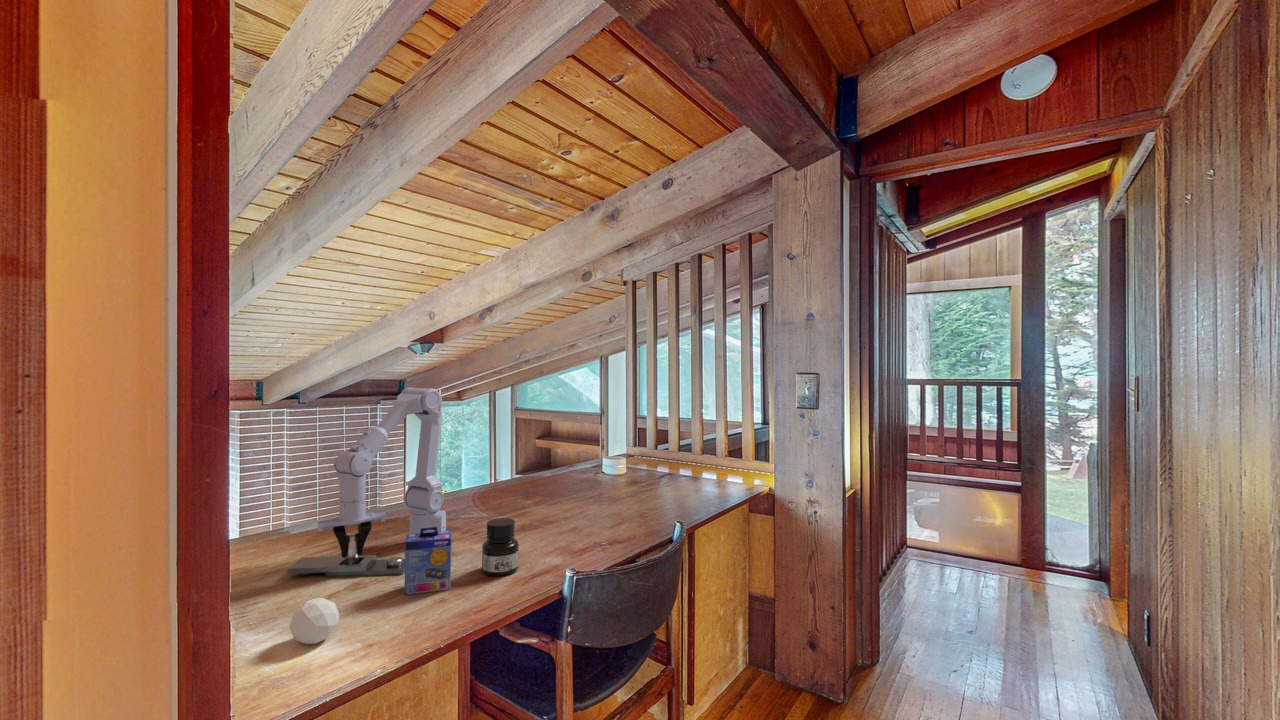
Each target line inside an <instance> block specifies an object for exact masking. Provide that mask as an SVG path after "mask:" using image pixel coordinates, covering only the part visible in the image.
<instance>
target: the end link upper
mask: <svg viewBox="0 0 1280 720" xmlns="http://www.w3.org/2000/svg"><path fill="white" fill-rule="evenodd" d="M376 560H377V554H371V555H368V554H367V555H365V554H364V555H359V562H360V563H359V564H353V565H344V564H345V558H342V555H340V556H339V555H337V556H335V555H334V556H313V557H312V556H311V557H301V558H299V559H298V560H297V561H295V562H294V563H293V564H292V565H290V566H289V567H288V568H287V575H291V574H293V575H294V574H295V575H296V574H298V575H299V576H310V575H313V574H320V573H322V574H323V573H326V572H349V571H366V570H367V569H368V568H369V567H370V566H371V565H372V564H373V563H374V562H375V561H376Z"/></svg>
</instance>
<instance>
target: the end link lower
mask: <svg viewBox="0 0 1280 720" xmlns="http://www.w3.org/2000/svg"><path fill="white" fill-rule="evenodd" d="M359 563H360V562H359ZM344 565H345V564H344ZM395 575H405V558H403V557H401V556H392V557H389V558H387V559H376V561H375V562H374V563H373V564H372V565H371V566H370V567H369V568H368V569H367V570H366V571H349V572H325V578H344V577H345V578H347V577H365V576H366V577H369V576H371V577H372V576H395Z"/></svg>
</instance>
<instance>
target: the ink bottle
mask: <svg viewBox="0 0 1280 720" xmlns="http://www.w3.org/2000/svg"><path fill="white" fill-rule="evenodd" d="M515 523H516V521H515V520H514V519H512V518H508V517H499V518H493V519H490V520H488V521H487V522H486V540H485V541H484V542H483V544H482V546H481V571H482V573H483V574H485V575H486V576H489V577H490V576H491V577H499V576H500V577H502V576H507V575H511V574H513V573H515V572H517V570H518V568H519V555H520V553H519V549H520V547H519V544H520V543H519V541H518V540H517V539H516V538H515V537H514V536H515V533H516V532H515V531H516V530H515V526H516V525H515Z"/></svg>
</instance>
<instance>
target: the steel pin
mask: <svg viewBox="0 0 1280 720" xmlns="http://www.w3.org/2000/svg"><path fill="white" fill-rule="evenodd" d="M345 547H346V557H345V565H353V564H359V556H360V555H359V533H358V532H349V533H346V541H345Z"/></svg>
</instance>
